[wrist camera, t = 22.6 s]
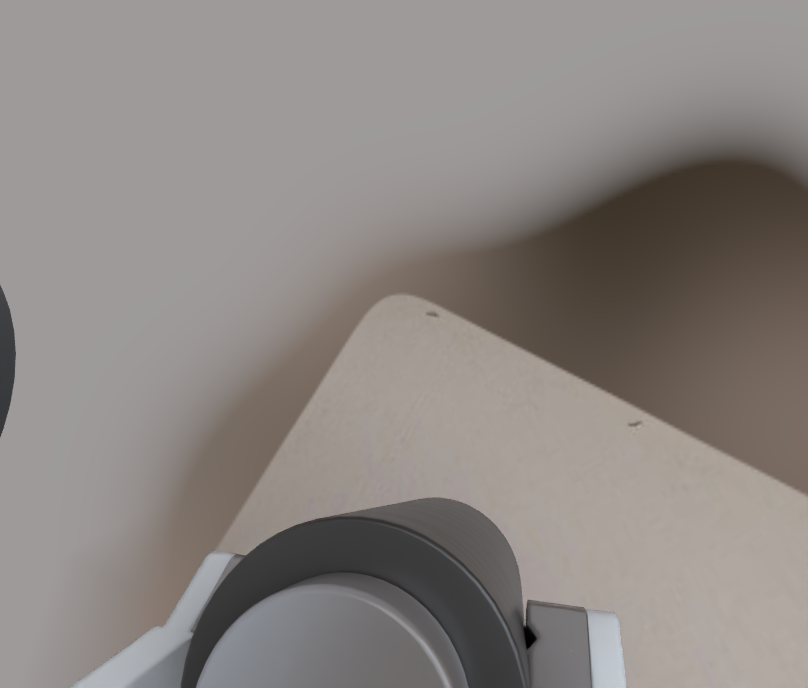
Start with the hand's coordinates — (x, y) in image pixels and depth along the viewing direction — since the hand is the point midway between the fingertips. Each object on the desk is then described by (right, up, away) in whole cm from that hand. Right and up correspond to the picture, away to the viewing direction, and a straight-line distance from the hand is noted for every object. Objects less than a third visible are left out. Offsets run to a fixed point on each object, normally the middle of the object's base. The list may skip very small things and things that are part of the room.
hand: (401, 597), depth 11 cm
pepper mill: (+1, -2, +5) cm, 5 cm away
